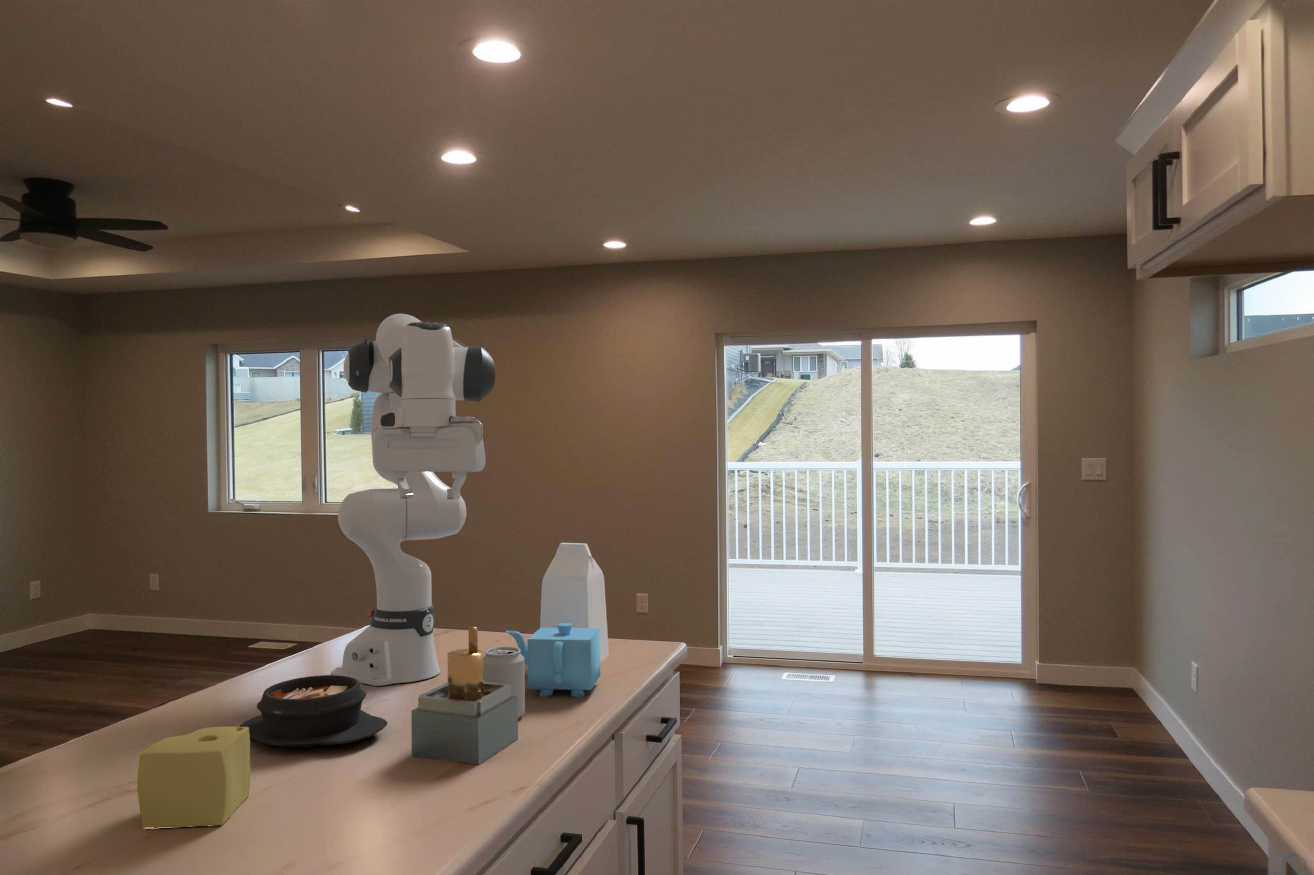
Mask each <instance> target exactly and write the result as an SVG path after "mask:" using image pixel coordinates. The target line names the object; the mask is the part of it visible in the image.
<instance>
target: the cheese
mask: <svg viewBox="0 0 1314 875" xmlns="http://www.w3.org/2000/svg"><path fill="white" fill-rule="evenodd" d="M250 738H251V736H250V735H249V727H239V726H212V727H210V726H209V727H203V728H199V729H197V730H195V731H193V732H190V733H187V734H182V735H176V736H175V735H174V736H167V737H164V738H163V739H161V740H159V741H158V742H155V743H153V744H151V745H150V746H148V747H146V748H145V749H143V751H142V752H141V753H140V754H139V757H138V758H139V760H138V768H137V770H138V771H137V781H136V782H137V798H138V799H137V800H138V805H139V806H138V807H139V813H140V818H141V823H142V829H143V828H145V827H154V828H158V827H172V828H173V827H174V828H173V829H178V828H177V827H189V826H208V825H222V824H223V823H224V822H225V821H226V820H227V819H228V818H229V817H230V818H231V817H232V815H233V814H234V813H235V812H236V810H237V809H238V808H239V807H240V806H241V805H242V804H243V803H244V802H245V801H246V800H245V799H246V798H247V797H248V798H249V796H250V787H251V786H250V785H251V739H250ZM248 798H247V799H248ZM244 800H245V801H244ZM243 801H244V802H243ZM242 802H243V803H242ZM241 803H242V804H241ZM239 805H240V806H239ZM237 807H238V808H237ZM234 811H235V812H234ZM233 812H234V813H233ZM230 818H229V819H230ZM229 819H228V820H229ZM228 820H227V821H228ZM227 821H226V822H227ZM226 822H225V823H226ZM225 823H224V824H225ZM224 824H223V825H224ZM223 825H222V826H223ZM175 827H176V828H175ZM208 827H209V826H208Z"/></svg>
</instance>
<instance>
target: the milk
mask: <svg viewBox="0 0 1314 875" xmlns="http://www.w3.org/2000/svg"><path fill="white" fill-rule="evenodd" d="M605 583H606V582H605V576H604V573H603V570H602V569H601V567H600V566H599V565H598V563H597V561H596V560H595V558H594V557H593V556H592V553H591V550H590V548H589V545H588V543H579V542H578V543H576V542H560V543H559V545H558V547H557V550H556V552H555V556H554V557H553V558H552V561H551V562H550V563H549V566H548V568H547V569H546V571H545V573H544V575H543V578H542V582H541V595H540V597H541V598H540V620H539V621H540V622H539V625H540V626H539V629H540V628H557V625H558V624H561V623H570V624H572V628H600V662H601V661H603V660H604V659H606V657H607V656H609V657H610V653H609V652H610V651H609V649H610V648H609V633H608V619H607V603H606V586H605ZM606 660H607V659H606ZM604 661H605V660H604ZM604 661H603V662H604ZM601 663H602V662H601Z"/></svg>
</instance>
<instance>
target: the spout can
mask: <svg viewBox="0 0 1314 875" xmlns="http://www.w3.org/2000/svg"><path fill="white" fill-rule="evenodd" d="M478 638H479V637H478V626H469V627H468V648H461V649H455V650H451V651H448V652H447V683H448V699H457V700H466V701H477V700H479V699H481V698H483V697H484V665H483V658H484V651H483V650H481V649H479V648H478V645H479V644H478V643H479V642H478Z"/></svg>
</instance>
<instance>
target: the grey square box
mask: <svg viewBox="0 0 1314 875" xmlns="http://www.w3.org/2000/svg"><path fill="white" fill-rule="evenodd" d="M417 700H418V701H417V707H416V708H414V709H412V710H411V711H410V712H411V756H413V757H420V758H428V759H435V760H442V761H447V762H448V761H449V762H456V763H463V764H469V765H477V766H479V765H481V764H482V763H483V762H485V761H487V760H488V759H490V758H491V757H493V756H494V755H496V754H497V753H499V752H500V751H501V752H502V751H503V749H505V748H506V747H508V746H510V745H512V744H513V743H514V742H516V741H517V740H519V719H518V696H511V684H502V683H493V682H484V697H483V698H481V699H479V700H477V701H466V700H457V699H448V682H446V683H443V684H442V685H441V684H440V685H439V686H436V687H434V688H433V689H431V690H428V691H426V692H424V693H422V694H420V695H419V696H418V697H417Z"/></svg>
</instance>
